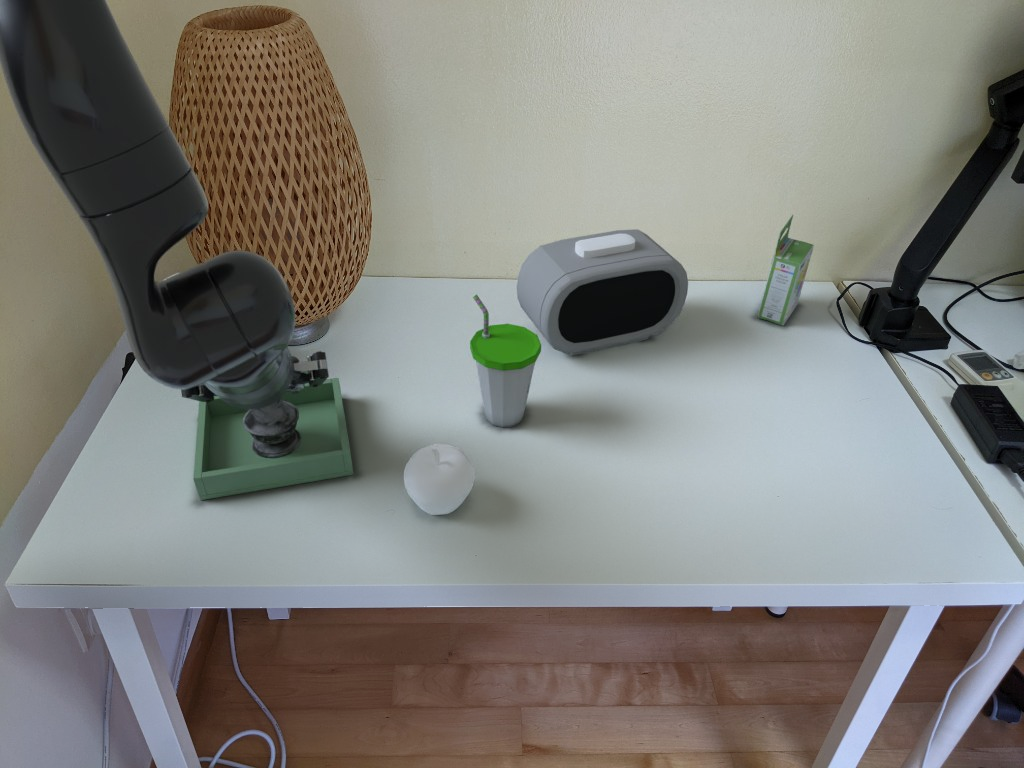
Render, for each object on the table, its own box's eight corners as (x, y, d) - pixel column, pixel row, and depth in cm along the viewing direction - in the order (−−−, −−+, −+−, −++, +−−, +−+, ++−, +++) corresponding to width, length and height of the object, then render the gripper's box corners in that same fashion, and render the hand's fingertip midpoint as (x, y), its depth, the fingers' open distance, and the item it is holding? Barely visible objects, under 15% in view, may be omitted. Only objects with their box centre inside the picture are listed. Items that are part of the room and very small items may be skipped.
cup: (548, 426, 90) (555, 317, 81) (486, 444, 87) (486, 332, 78) (520, 388, 95) (524, 282, 86) (461, 403, 93) (458, 295, 84)
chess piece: (314, 435, 87) (299, 347, 79) (279, 466, 83) (259, 377, 75) (273, 418, 89) (254, 331, 82) (237, 449, 85) (214, 360, 77)
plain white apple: (391, 503, 80) (385, 445, 75) (441, 468, 84) (438, 411, 79) (439, 539, 76) (436, 480, 71) (488, 500, 80) (488, 442, 75)
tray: (200, 500, 79) (193, 478, 77) (205, 417, 90) (199, 396, 88) (353, 474, 83) (350, 453, 81) (341, 398, 93) (338, 377, 91)
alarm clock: (543, 367, 99) (548, 275, 91) (515, 328, 106) (518, 239, 98) (681, 336, 105) (698, 247, 97) (646, 301, 112) (659, 216, 104)
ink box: (784, 327, 108) (808, 239, 100) (756, 318, 109) (777, 232, 101) (797, 305, 112) (822, 220, 104) (771, 297, 114) (792, 213, 106)
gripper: (323, 309, 69) (328, 345, 86) (151, 329, 66) (191, 363, 82) (335, 391, 68) (338, 412, 85) (162, 416, 65) (200, 433, 82)
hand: (266, 388), depth 84 cm, fingers open, 5 cm apart
